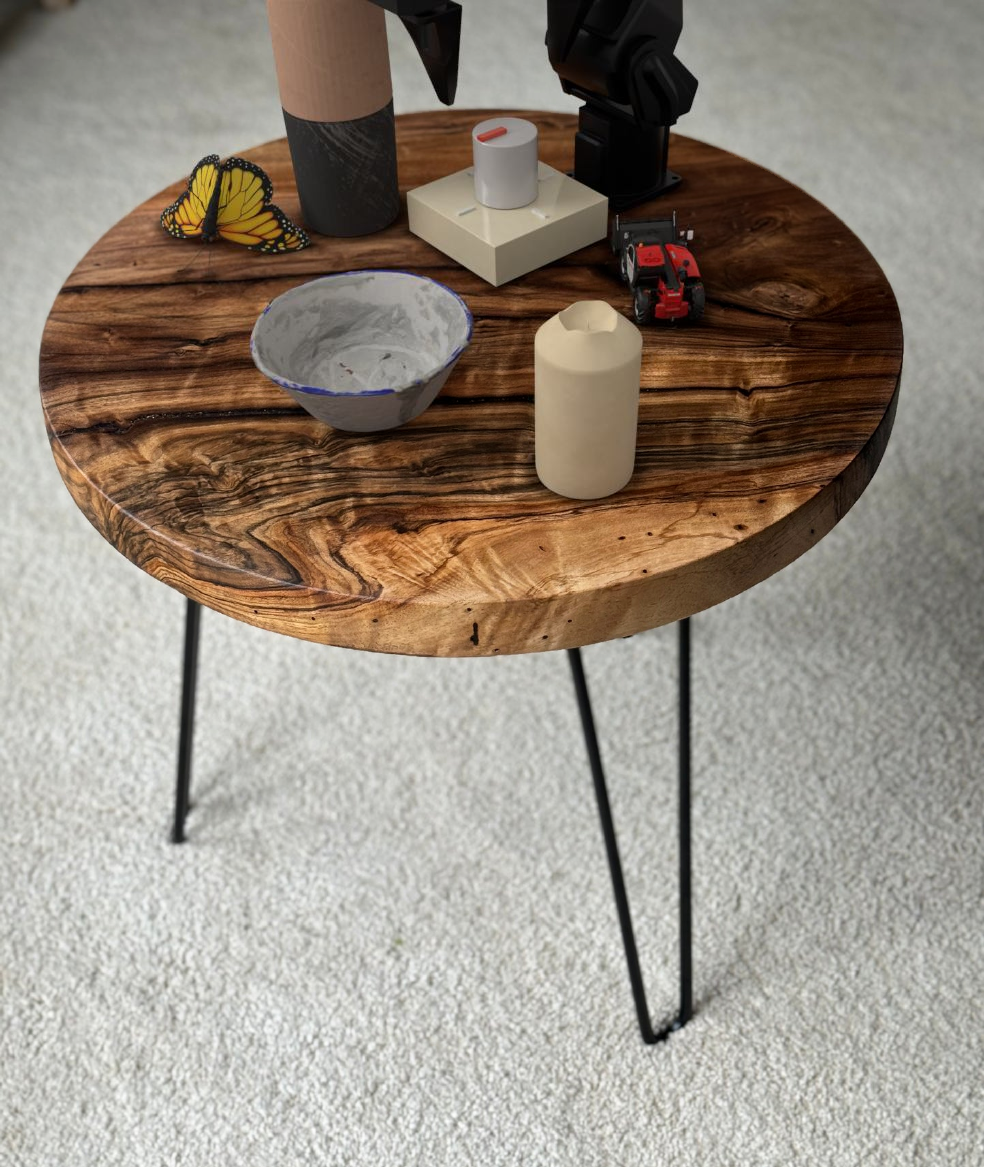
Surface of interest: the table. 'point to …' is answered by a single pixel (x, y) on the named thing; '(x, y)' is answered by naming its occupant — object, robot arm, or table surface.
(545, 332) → the candle
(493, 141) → the tap knob
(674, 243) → the loader
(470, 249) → the plate
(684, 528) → the table surface
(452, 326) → the bowl
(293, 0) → the travel mug
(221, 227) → the butterfly
